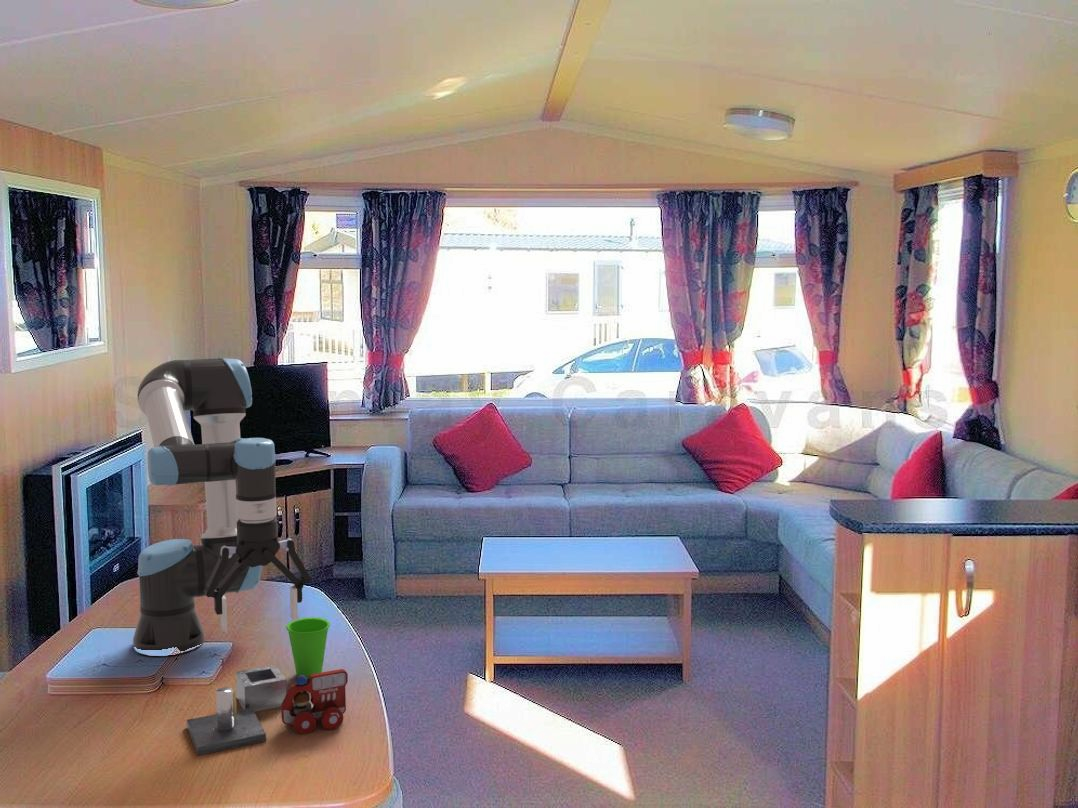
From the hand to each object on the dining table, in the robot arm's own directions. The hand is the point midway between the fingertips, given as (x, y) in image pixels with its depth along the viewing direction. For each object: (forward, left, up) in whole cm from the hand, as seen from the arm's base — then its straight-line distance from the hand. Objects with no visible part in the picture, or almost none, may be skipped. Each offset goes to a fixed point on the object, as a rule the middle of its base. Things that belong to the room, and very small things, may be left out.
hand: (259, 624), depth 200 cm
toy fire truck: (+14, +7, -16) cm, 23 cm away
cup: (-9, +12, -16) cm, 22 cm away
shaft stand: (+11, -9, -16) cm, 21 cm away
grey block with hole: (0, 0, -16) cm, 16 cm away
